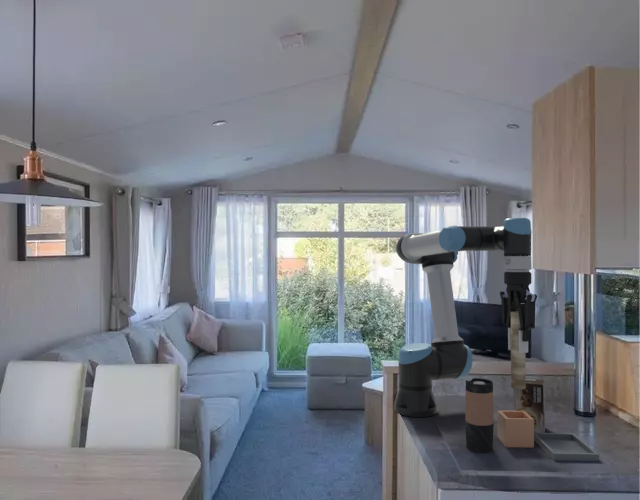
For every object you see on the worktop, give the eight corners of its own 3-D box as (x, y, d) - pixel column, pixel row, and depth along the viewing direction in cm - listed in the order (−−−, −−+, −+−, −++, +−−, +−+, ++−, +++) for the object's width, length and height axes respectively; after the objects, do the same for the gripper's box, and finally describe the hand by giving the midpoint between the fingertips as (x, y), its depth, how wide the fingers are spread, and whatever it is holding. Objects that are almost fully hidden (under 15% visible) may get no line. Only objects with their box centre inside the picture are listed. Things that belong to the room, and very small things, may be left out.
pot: (497, 440, 160) (497, 410, 160) (524, 440, 160) (524, 410, 160) (505, 450, 152) (505, 419, 152) (534, 450, 152) (533, 419, 152)
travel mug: (495, 457, 147) (494, 385, 147) (466, 455, 148) (466, 384, 148) (491, 447, 154) (491, 378, 154) (464, 445, 156) (464, 377, 156)
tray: (532, 441, 159) (532, 432, 159) (573, 442, 158) (573, 433, 158) (553, 463, 143) (553, 453, 143) (599, 464, 142) (599, 454, 142)
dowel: (509, 385, 157) (508, 311, 157) (523, 385, 157) (522, 311, 157) (513, 389, 153) (512, 312, 153) (527, 389, 153) (527, 312, 153)
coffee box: (545, 430, 168) (545, 379, 168) (544, 437, 163) (544, 384, 163) (514, 426, 172) (514, 376, 172) (512, 432, 166) (512, 381, 166)
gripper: (488, 270, 162) (489, 346, 162) (526, 272, 146) (527, 357, 146) (509, 269, 165) (509, 345, 165) (549, 271, 148) (549, 355, 148)
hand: (518, 350), depth 155 cm, fingers closed on dowel, 4 cm apart
